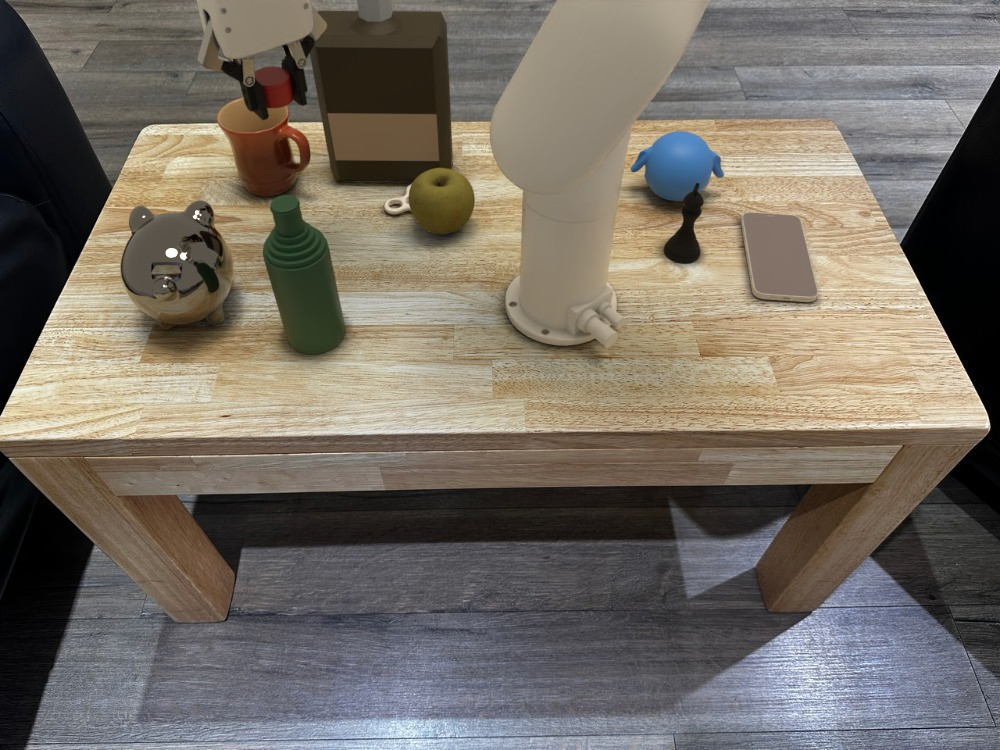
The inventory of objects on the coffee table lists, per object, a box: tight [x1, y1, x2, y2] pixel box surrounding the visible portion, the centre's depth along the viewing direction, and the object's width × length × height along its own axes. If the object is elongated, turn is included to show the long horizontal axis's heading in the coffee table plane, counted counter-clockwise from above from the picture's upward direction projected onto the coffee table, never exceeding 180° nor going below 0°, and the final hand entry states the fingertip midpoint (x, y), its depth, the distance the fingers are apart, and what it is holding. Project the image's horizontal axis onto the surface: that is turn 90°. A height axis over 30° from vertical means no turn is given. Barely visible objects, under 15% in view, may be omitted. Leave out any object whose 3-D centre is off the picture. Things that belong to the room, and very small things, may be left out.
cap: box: [255, 65, 294, 108], centre depth 83 cm, size 4×4×3 cm
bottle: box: [309, 0, 454, 183], centre depth 97 cm, size 8×16×25 cm, turn 90°
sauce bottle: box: [262, 194, 346, 355], centre depth 80 cm, size 6×6×18 cm
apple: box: [408, 168, 476, 235], centre depth 96 cm, size 8×8×7 cm
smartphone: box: [740, 211, 819, 303], centre depth 95 cm, size 7×1×15 cm
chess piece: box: [663, 183, 705, 264], centre depth 92 cm, size 4×4×10 cm
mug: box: [216, 97, 312, 197], centre depth 100 cm, size 12×9×10 cm
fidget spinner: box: [383, 183, 412, 215], centre depth 101 cm, size 7×6×1 cm
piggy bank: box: [119, 199, 234, 330], centre depth 85 cm, size 11×15×12 cm
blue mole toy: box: [630, 130, 725, 202], centre depth 101 cm, size 12×12×8 cm
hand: (278, 105), depth 84 cm, fingers closed on cap, 3 cm apart
